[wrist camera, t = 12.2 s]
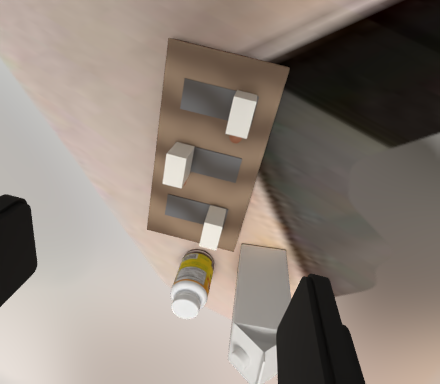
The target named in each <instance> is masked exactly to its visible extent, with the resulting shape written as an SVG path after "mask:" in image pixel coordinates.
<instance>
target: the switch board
mask: <svg viewBox="0 0 440 384" xmlns="http://www.w3.org/2000/svg"><path fill="white" fill-rule="evenodd" d="M289 70H290V68H289V67H287V66H283V65H278V64H274V63H270V62H266V61H262V60H258V59H254V58H250V57H246V56H242V55H238V54H234V53H230V52H226V51H222V50H218V49H213V48H209V47H205V46H201V45H197V44H193V43H189V42H185V41H181V40H177V39H171V38H168V47H167V56H166V64H165V73H164V82H163V91H162V100H161V109H160V118H159V127H158V136H157V145H156V154H155V163H154V171H153V180H152V189H151V198H150V207H149V216H148V225H147V230H151V231H155V232H159V233H163V234H166V235H170V236H174V237H178V238H182V239H186V240H190V241H194V242H197V243H200V240H201V235H202V231H203V227H204V222H205V219H206V216H207V213H208V210H209V207H210V205H212V206H216V207H220V208H224V209H226V214H225V218H224V223H223V227H222V231H221V235H220V239H219V242H218V246H217V248H221V249H225V250H228V251H232V252H234V249H235V246H236V243H237V239H238V236H239V233H240V230H241V226H242V223H243V220H244V216H245V213H246V210H247V207H248V203H249V200H250V197H251V194H252V190H253V187H254V184H255V181H256V177H257V174H258V171H259V168H260V164H261V161H262V158H263V155H264V151H265V148H266V145H267V141H268V138H269V135H270V132H271V128H272V125H273V122H274V119H275V115H276V112H277V109H278V106H279V102H280V99H281V96H282V93H283V89H284V86H285V83H286V80H287V76H288V73H289ZM237 90H239V91H243V92H247V93H251V94H255V95H257V103H256V106H255V110H254V114H253V118H252V121H251V125H250V129H249V132H248V136H247V139H245V138H241V137H237V136H233V135H229V134H225V133H226V128H227V124H228V120H229V115H230V111H231V107H232V102H233V98H234V95H235V93H236V91H237ZM176 142H179V143H183V144H187V145H191V146H195V147H194V153H193V159H192V164H191V170H190V174H189V176H188V178H187V180H186V181H185V183H184V185H183V187H182V189H181V188H177V187H173V186H169V185H165V184H163V176H164V169H165V161H166V154H167V153H168V151H169V150H170V149H171V148H172V147H173V146H174V144H175V143H176Z"/></svg>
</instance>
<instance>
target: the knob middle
mask: <svg viewBox="0 0 440 384" xmlns="http://www.w3.org/2000/svg"><path fill="white" fill-rule="evenodd" d="M194 147H195V146H191V145H187V144H183V143H179V142H176V143H175V144H174V146H173V147H172V148H171V149H170V150H169V151H168V153H167V154H166V161H165V169H164V176H163V184H165V185H169V186H173V187H177V188H181V189H182V187H183V185H184V183H185V181H186V180H187V178H188V176H189V174H190V170H191V164H192V159H193V153H194Z"/></svg>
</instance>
